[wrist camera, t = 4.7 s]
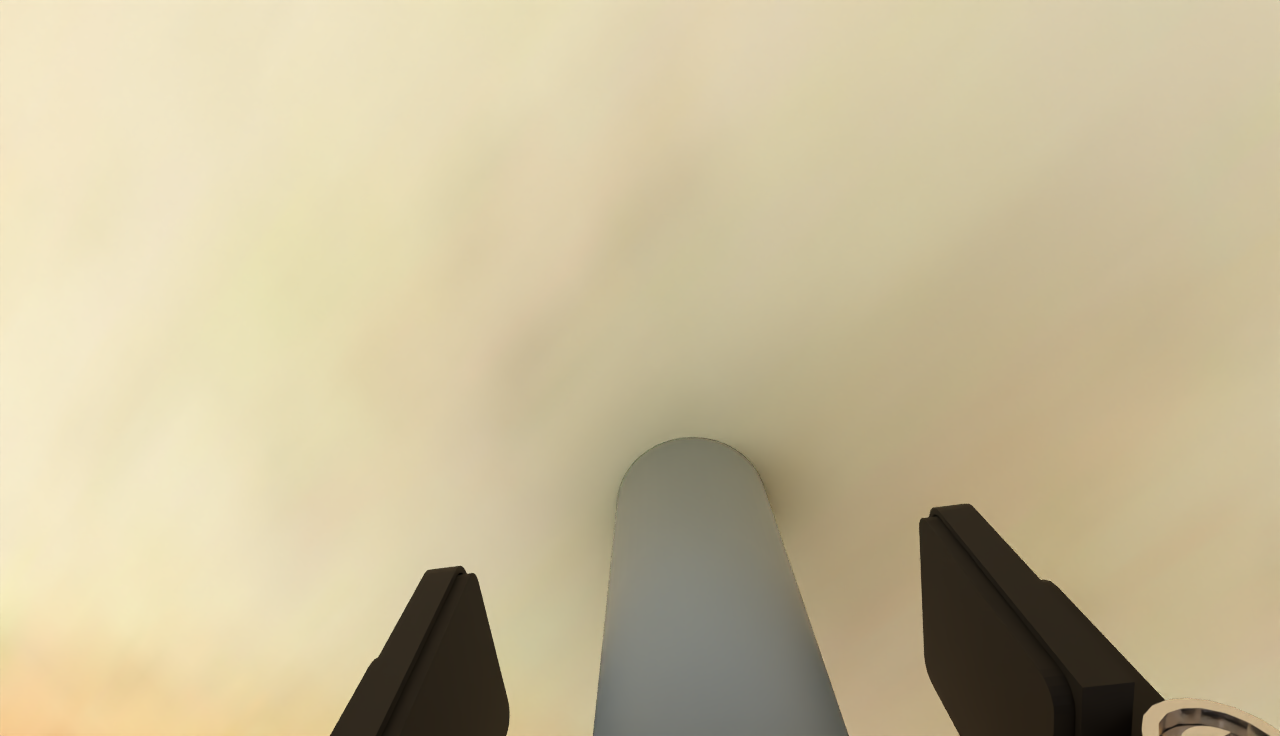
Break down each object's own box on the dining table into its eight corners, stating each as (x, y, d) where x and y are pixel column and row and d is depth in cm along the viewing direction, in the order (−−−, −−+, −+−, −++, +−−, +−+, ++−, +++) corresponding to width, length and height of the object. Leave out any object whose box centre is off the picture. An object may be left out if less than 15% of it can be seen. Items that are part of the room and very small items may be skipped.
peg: (795, 485, 15) (1065, 1098, 5) (712, 595, 15) (811, 1304, 6) (667, 410, 14) (699, 927, 5) (589, 528, 15) (479, 1172, 5)
